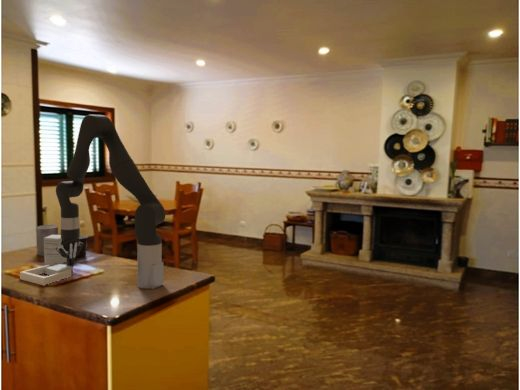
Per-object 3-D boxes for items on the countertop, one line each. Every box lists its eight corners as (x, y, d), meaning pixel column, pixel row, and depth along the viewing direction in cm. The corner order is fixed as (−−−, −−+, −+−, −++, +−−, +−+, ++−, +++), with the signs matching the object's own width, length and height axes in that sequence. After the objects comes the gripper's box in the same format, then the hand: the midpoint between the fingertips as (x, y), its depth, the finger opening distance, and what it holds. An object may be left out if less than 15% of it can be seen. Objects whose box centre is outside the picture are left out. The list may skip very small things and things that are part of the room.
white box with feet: (75, 273, 177) (75, 266, 176) (58, 278, 170) (58, 271, 169) (61, 269, 181) (61, 263, 181) (44, 274, 174) (44, 267, 174)
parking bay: (71, 277, 172) (71, 270, 171) (43, 285, 160) (43, 278, 160) (48, 271, 178) (48, 264, 178) (20, 279, 167) (19, 272, 167)
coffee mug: (83, 259, 198) (83, 239, 197) (65, 258, 198) (65, 238, 197) (93, 253, 210) (93, 234, 209) (76, 252, 210) (76, 233, 209)
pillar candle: (48, 250, 213) (47, 221, 212) (63, 252, 210) (62, 223, 209) (32, 254, 204) (31, 225, 202) (48, 256, 201) (47, 226, 199)
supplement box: (52, 260, 195) (52, 234, 194) (68, 261, 195) (67, 235, 193) (43, 264, 188) (43, 237, 186) (59, 265, 187) (59, 238, 186)
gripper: (62, 230, 170) (63, 271, 172) (88, 225, 182) (89, 263, 184) (50, 228, 174) (51, 268, 176) (77, 223, 185) (77, 261, 187)
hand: (70, 266), depth 180 cm, fingers closed
